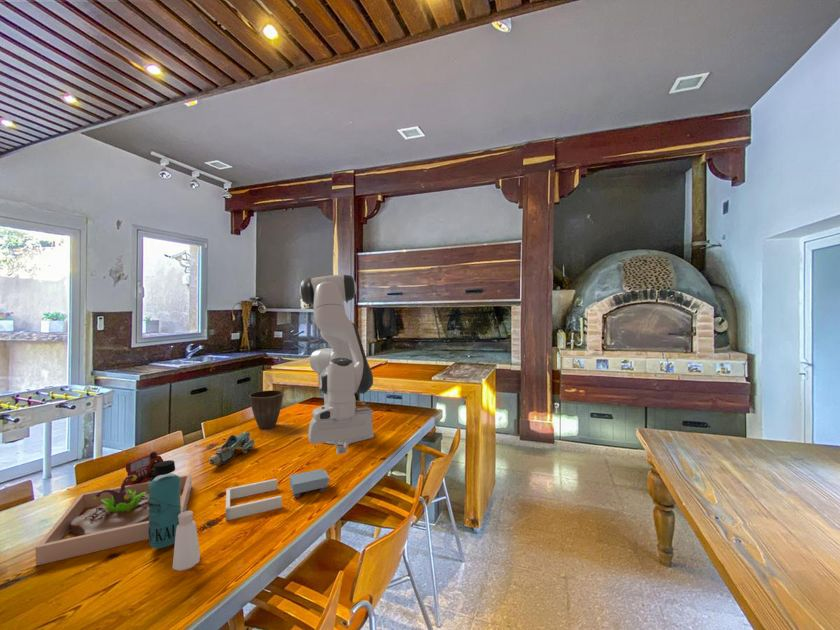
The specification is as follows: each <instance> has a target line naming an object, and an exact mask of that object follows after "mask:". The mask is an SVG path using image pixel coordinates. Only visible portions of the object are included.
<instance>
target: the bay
mask: <svg viewBox="0 0 840 630" xmlns="http://www.w3.org/2000/svg"><path fill="white" fill-rule="evenodd" d="M277 490H278V479H277V478H272V479H267V480H263V481H259V482H253V483H249V484H248V483H247V484H242V485H239V486H233V487H229V488H226V490H225V493H226V494H225V521H226V522H227V521H232V520H234V519H239V518H243V517H247V516H252V515H257V514H260V513H264V512H269V511H272V510H278V509H281V508H282V509H283V502H282V501H283V499H282V495H278V496H273V497H268V498H263V499H258V500H255V501H254V500H253V501H250V502H245V503H240V504H237V505H232V506H231V500H234V499H239V498H243V497H247V496H253V495H258V494H262V493H266V492H271V491H277Z"/></svg>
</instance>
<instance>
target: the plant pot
mask: <svg viewBox="0 0 840 630" xmlns="http://www.w3.org/2000/svg"><path fill="white" fill-rule="evenodd" d="M283 395H284V392H283V391H282V390H270V389H269V390H263V391H256V392H253V393H250V394H249V400H250V401H249V402H250V407H251V410H252V414H253V417H254V420H255V422H256V424H257V427H258V428H259V429H260V430H269V429H272V428H275V427H276V425H277V422H278V419H279V416H280V411H281V408H282V404H283V398H284V397H283Z"/></svg>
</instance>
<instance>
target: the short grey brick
mask: <svg viewBox="0 0 840 630" xmlns="http://www.w3.org/2000/svg"><path fill="white" fill-rule="evenodd" d="M330 481H331V479H330V476H329V474H328V473H327V470H325V469H323V468H320V469H315V470H311V471H309V470H308V471H306V472H300V473H295V474H290V475H289V485H290V488H291V492H292V495H293V496H294V498H295V499H299V498H300V497H301V493H305V492H310V491H315V490H318V489H319V490H320V493H325V492H326V491H327V488H328V483H330Z"/></svg>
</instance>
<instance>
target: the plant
mask: <svg viewBox="0 0 840 630" xmlns="http://www.w3.org/2000/svg"><path fill="white" fill-rule="evenodd" d="M128 479H130V480H131V481H135V480H136V479H137V476H136V475H130V476H128V475H127V476H126V477H125V478H124V479H123V482H122V483H121V485H120V487H121V489H120V492H119V493H118V492H115V491H114V490H106V489H102V490H103V491H101V492H99V493H97V494H96V495H95V496H94V498H93V499H94V500H98V499H99V498H100V494H101V493H103V492H109V493H110V494H112V495H113V496H112V499H108V498H106V499H102V500H101V501H102V502H104V504H103V505H100V506H96V507H91V508H90V509H89V508H88V509H87V510H86V511H84V513H83V514H80V515H79V516H78V517H75V518H74V519H73V520H72V521H71V522H70V528H69V532H70V533H71V534H73V535H77V536H82V535H86V534H91V533H96V532H100V531H105V530H109V529H114V528H118V527H123V526H128V525H132V524H137V523H141V522H146V521H149V504H148V503H149V501H148V500H149V493H147V492H146V491H145V492H142V493H139V494H135V493H136V490H134V491H131V490H130V489H128V490H127V491H125V483H126V481H127V480H128Z"/></svg>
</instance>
